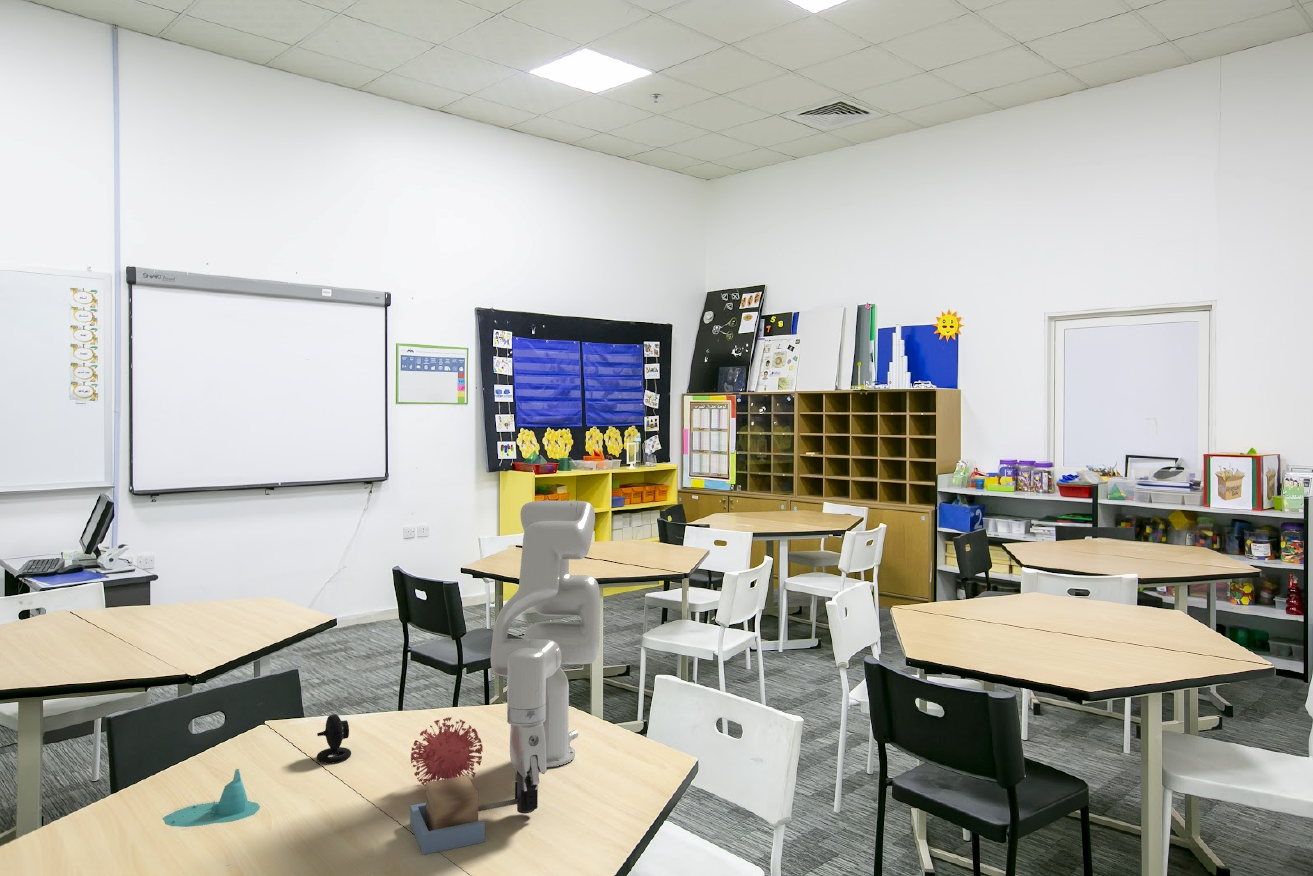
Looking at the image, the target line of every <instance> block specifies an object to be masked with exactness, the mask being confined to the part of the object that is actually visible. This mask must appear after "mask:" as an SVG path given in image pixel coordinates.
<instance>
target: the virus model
mask: <svg viewBox="0 0 1313 876" xmlns="http://www.w3.org/2000/svg"><path fill="white" fill-rule="evenodd" d="M452 718H453V717H446V718H443V719H442V720H443V722H442V723H441V725H442V726H441V725H440V721H441V720H440V719H436V720H434V721H433V723H434V724H435V725H436V726H437V728H438V734H437V733H436V731H435V730H434V728H433V725H429V727H430V728H431V729H432V731H433V733H432V732H428V729H426V728H425V730H422V731H421V732H420V733H419V737H421V736H422V737H423V739H422V742H423V743H422V742H420V741H419V740H417V739H416V740H414V743H413V746H411V752H410V753H411V754H410V764H412V768H415V767H416V769H415V770H416V771H415V772H414V776H415V777H417V778H416V779H417V780H418V782H419V783H421V785H422V786H424V787H425V788H426V782H432V781H437V780H443V779H449V778H454V777H460V776H466V775H467V776H468V777H469V774H471V777H472V778H473V779H474V778H475V777H476V772H475V771H474V770H475V763H476V764H477V765H478V766H481V763H482V760H483V755H482V753H483V744H482V739H481V738H480V737H479V733H478V731H477V729H476V728H475V727H473V728H472V725H470V724H469V725H468V727H467V728H465V727H464V725H465V724H466V720H462V719H461V718H460V719H459V721H455V724H456V725H455V724H454V723H451V724H447V723H450V722H451V720H452ZM457 725H458V726H457ZM459 727H460V728H459ZM453 729H454V730H453ZM460 731H461V732H460ZM471 734H473V735H471ZM424 742H426V743H427V744H424ZM477 747H478V748H477ZM473 753H475V754H478V755H473ZM475 760H476V761H475ZM414 762H415V763H416V764H413V763H414ZM421 768H423V769H421ZM420 769H421V770H420ZM419 770H420V771H419ZM423 771H424V772H423ZM421 773H422V774H421ZM420 774H421V775H420ZM419 775H420V776H419Z"/></svg>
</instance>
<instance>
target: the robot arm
mask: <svg viewBox="0 0 1313 876" xmlns="http://www.w3.org/2000/svg"><path fill="white" fill-rule="evenodd" d="M519 517H520V524H521V526H522V529H523V530H522V531H524V532H523V537H522V548H521V556H520V557H521V561H520V568H519V570H520V571H519V581H518V582H519V584H518V589H517V591H516V592H515V593H514V595H512V596H511V597H510V598H509V599H508V600H507V601H506V602H505V604H504V605H503V606H502V608H501V610H500V611H499V613H498V615H497V617H496V620H495V623H494V625H493V630H492V639H491V641H492V642H491V649H490V666H491V670H492V671H493V673H495V674H496V676H497V675H498V676H500V677H506V679H507V681H506V682H507V683H506V684H507V685H506V686H507V688H506V690H507V691H506V693H507V695H506V696H507V699H506V700H507V702H506V703H507V706H506V709H507V710H506V712H507V713H506V714H507V716H506V718H507V719H506V722H507V723H508V724H509V725H510V728H509V729H510V730H509V731H510V732H509V756H510V762H511V764H512V765H513V767H514V769H515V770H514V780H515V782H514V799H517V774H518V773H520V775H522V781H523V790H521V810H522V811H528V810H533V809H534V810H537V809H538V800H539V799H538V797H539V795H538V790H539V784H540V775H539V772H540V774H542V775H546V773H547V768H555V767H559V765H560V766H563V764H564V765H566V763H567V764H568V762H569V763H571V762H572V761H573V760H574V759H575V757H574V756H576V751H575V749H574V748H573V746H571V743H572V741H574V740H575V739H577V738H578V737H579V732H578V730H576V729H574V730H573V729H572V730H571V731H569V710H570V709H569V708H570V707H569V706H570V705H569V703H570V701H569V699H570V697H569V689H570V688H569V687H570V686H569V680H568V677H567V675H566V673H565V671H564V670H563V669H562V667H561V665H589V664H592V663H595V662H596V661H597V659H598V656H599V652H600V640H601V639H600V638H601V636H600V635H601V633H600V632H601V631H600V630H601V625H600V624H601V621H600V620H601V609H600V608H601V596H600V595H601V591H600V587H599V583H598V581H597V579H595V578H594V577H593V576H591V575H585V574H584V575H583V574H577V575H576V574H574V575H573V574H570V571H569V569H570V568H569V567H570V560H583V559H585V558H586V557H587V555H588V553H589V551H590V548H591V542H592V539H593V534H594V529H595V525H596V512H595V509H594V507H593V505H592V504H591V503H590V502H588V501H585V500H584V501H583V500H533V501H528V502H526V503H525V504H523V505H522V507H521V508H520V516H519ZM530 608H531V609H532V608H533V610H534V612H535V613H537V614H538V615H541V616H550V617H577V618H579V619H580V621H579V622H578V621H541V622H535V623H533V624H531V625H530V626H528V628H526V630H525V632H524V636H523V638H508V634H509V630H510V626H511V625H512V623H513V622H514V620H515V619H516V618H518V616H520V615H521V614H522V613H523V612H526V611H527V610H529V609H530ZM573 758H574V759H573ZM571 760H572V761H571ZM528 771H530V773H527V772H528ZM527 778H531V779H530V780H528V782H527Z"/></svg>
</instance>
